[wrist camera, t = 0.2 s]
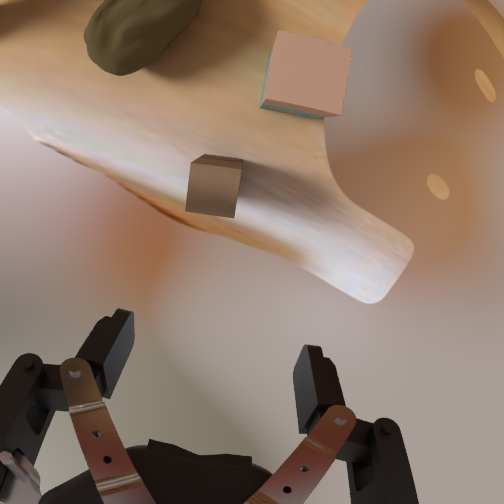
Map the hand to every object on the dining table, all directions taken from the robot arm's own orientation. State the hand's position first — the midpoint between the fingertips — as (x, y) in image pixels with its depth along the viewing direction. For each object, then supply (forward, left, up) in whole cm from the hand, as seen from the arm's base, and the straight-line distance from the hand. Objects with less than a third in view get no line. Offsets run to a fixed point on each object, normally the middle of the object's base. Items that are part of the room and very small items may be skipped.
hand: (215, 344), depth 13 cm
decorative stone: (-23, -14, -29) cm, 40 cm away
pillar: (-3, -2, -29) cm, 29 cm away
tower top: (-16, +5, -23) cm, 28 cm away
